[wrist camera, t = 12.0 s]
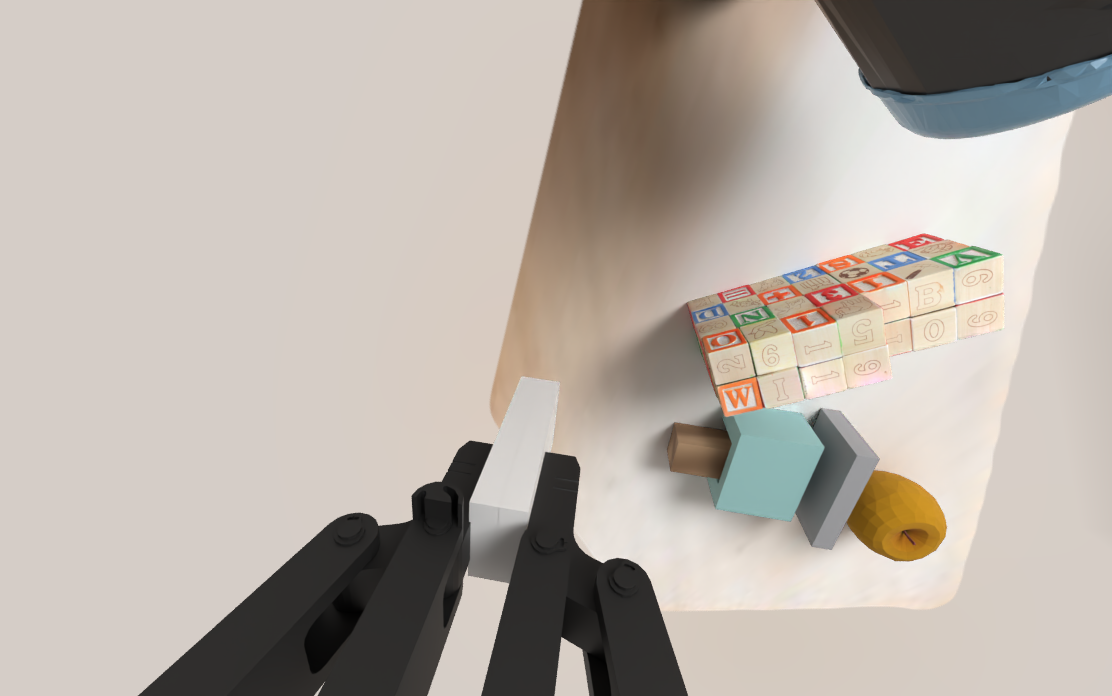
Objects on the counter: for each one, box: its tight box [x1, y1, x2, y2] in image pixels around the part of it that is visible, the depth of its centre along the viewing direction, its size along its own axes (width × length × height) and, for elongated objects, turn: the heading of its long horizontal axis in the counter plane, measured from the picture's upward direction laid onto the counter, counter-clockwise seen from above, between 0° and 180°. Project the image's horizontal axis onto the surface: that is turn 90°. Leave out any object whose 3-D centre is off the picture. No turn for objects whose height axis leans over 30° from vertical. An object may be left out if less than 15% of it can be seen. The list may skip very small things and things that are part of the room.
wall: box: [795, 408, 880, 550], centre depth 47 cm, size 12×2×8 cm, turn 174°
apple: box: [847, 470, 947, 561], centre depth 47 cm, size 8×8×9 cm
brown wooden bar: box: [667, 422, 732, 479], centre depth 50 cm, size 4×10×4 cm, turn 84°
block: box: [707, 408, 825, 522], centre depth 48 cm, size 10×8×6 cm
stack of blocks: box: [687, 234, 1004, 417], centre depth 38 cm, size 21×6×12 cm, turn 111°
